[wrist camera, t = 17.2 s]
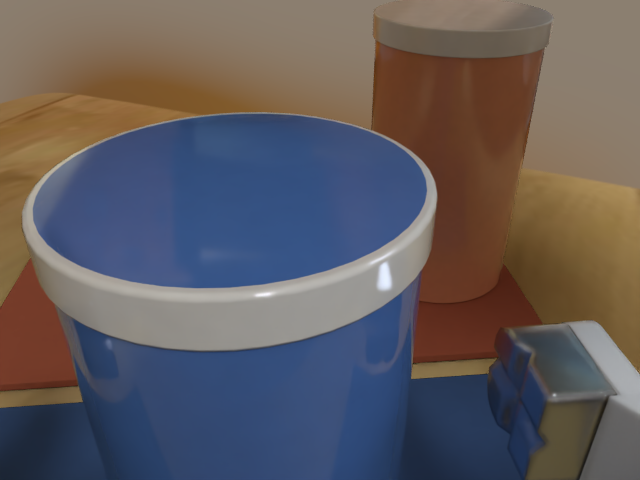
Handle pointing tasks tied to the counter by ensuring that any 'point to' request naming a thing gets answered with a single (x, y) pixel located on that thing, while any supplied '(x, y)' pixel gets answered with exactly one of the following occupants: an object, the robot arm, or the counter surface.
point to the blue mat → (418, 454)
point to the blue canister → (239, 294)
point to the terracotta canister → (461, 122)
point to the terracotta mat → (430, 345)
